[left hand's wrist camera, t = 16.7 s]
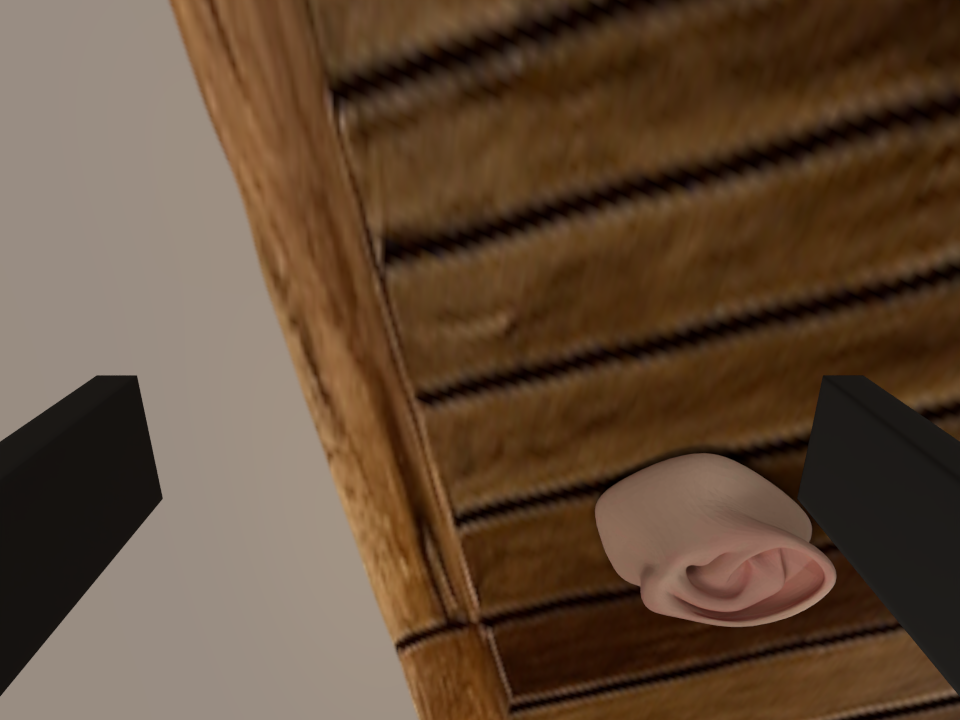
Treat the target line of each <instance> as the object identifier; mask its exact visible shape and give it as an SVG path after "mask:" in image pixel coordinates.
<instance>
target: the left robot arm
mask: <svg viewBox="0 0 960 720" xmlns="http://www.w3.org/2000/svg"><path fill="white" fill-rule="evenodd" d="M162 499H163V498H162V493H161V488H160V484H159V479H158V474H157V469H156V464H155V460H154V455H153V450H152V445H151V440H150V436H149V431H148V426H147V421H146V417H145V412H144V407H143V402H142V398H141V393H140V388H139V383H138V378H137V376H95V377H94V378H93V379H91V380H90V381H88V382H87V383H85V384H84V385H82V386H81V387H79V388H78V389H76V390H75V391H74V392H72V393H71V394H69V395H68V396H66V397H65V398H63V399H62V400H60V401H59V402H58V403H56V404H55V405H53V406H52V407H50V408H49V409H47V410H46V411H44V412H43V413H42V414H40V415H39V416H37V417H36V418H34V419H33V420H31V421H30V422H28V423H27V424H25V425H24V426H23V427H21V428H20V429H18V430H17V431H15V432H14V433H12V434H11V435H9V436H8V437H6V438H5V439H4V440H2V441H1V442H0V696H1V695H2V694H3V692H4V691H5V690H6V689H7V687H8V686H9V685H10V684H11V683H12V681H13V680H14V679H15V678H16V676H17V675H18V674H19V673H20V672H21V670H22V669H23V668H24V667H25V665H26V664H27V663H28V662H29V661H30V659H31V658H32V657H33V656H34V655H35V653H36V652H37V651H38V650H39V648H40V647H41V646H42V645H43V644H44V642H45V641H46V640H47V639H48V638H49V636H50V635H51V634H52V633H53V631H54V630H55V629H56V628H57V627H58V625H59V624H60V623H61V622H62V620H63V619H64V618H65V617H66V616H67V614H68V613H69V612H70V611H71V610H72V608H73V607H74V606H75V605H76V604H77V602H78V601H79V600H80V599H81V597H82V596H83V595H84V594H85V593H86V591H87V590H88V589H89V588H90V586H91V585H92V584H93V583H94V582H95V580H96V579H97V578H98V577H99V576H100V574H101V573H102V572H103V571H104V569H105V568H106V567H107V566H108V565H109V563H110V562H111V561H112V560H113V559H114V557H115V556H116V555H117V554H118V552H119V551H120V550H121V549H122V548H123V546H124V545H125V544H126V543H127V541H128V540H129V539H130V538H131V537H132V535H133V534H134V533H135V532H136V531H137V529H138V528H139V527H140V526H141V524H142V523H143V522H144V521H145V520H146V518H147V517H148V516H149V515H150V513H151V512H152V511H153V510H154V509H155V507H156V506H157V505H158V504H159V503H160V501H161V500H162ZM797 499H798V500H799V501H800V503H801V504H802V505H803V506H804V507H805V509H806V510H807V511H808V512H809V514H810V515H811V516H812V517H813V518H814V520H815V521H816V522H817V523H818V524H819V526H820V527H821V528H822V529H823V531H824V532H825V533H826V534H827V535H828V537H829V538H830V539H831V540H832V541H833V543H834V544H835V545H836V546H837V548H838V549H839V550H840V551H841V552H842V554H843V555H844V556H845V557H846V559H847V560H848V561H849V562H850V563H851V565H852V566H853V567H854V568H855V569H856V571H857V572H858V573H859V574H860V576H861V577H862V578H863V579H864V580H865V582H866V583H867V584H868V585H869V586H870V588H871V589H872V590H873V591H874V593H875V594H876V595H877V596H878V597H879V599H880V600H881V601H882V602H883V604H884V605H885V606H886V607H887V608H888V610H889V611H890V612H891V613H892V614H893V616H894V617H895V618H896V619H897V621H898V622H899V623H900V624H901V625H902V627H903V628H904V629H905V630H906V631H907V633H908V634H909V635H910V636H911V638H912V639H913V640H914V641H915V642H916V644H917V645H918V646H919V647H920V649H921V650H922V651H923V652H924V653H925V655H926V656H927V657H928V658H929V659H930V661H931V662H932V663H933V664H934V666H935V667H936V668H937V669H938V670H939V672H940V673H941V674H942V675H943V676H944V678H945V679H946V680H947V681H948V683H949V684H950V685H951V686H952V687H953V689H954V690H955V691H956V692H957V694H958V695H959V696H960V442H959V441H958V440H956V439H955V438H954V437H952V436H951V435H949V434H948V433H946V432H945V431H943V430H942V429H940V428H939V427H938V426H936V425H935V424H933V423H932V422H930V421H929V420H927V419H926V418H924V417H923V416H921V415H920V414H919V413H917V412H916V411H914V410H913V409H911V408H910V407H908V406H907V405H905V404H904V403H903V402H901V401H900V400H898V399H897V398H895V397H894V396H892V395H891V394H889V393H888V392H886V391H885V390H884V389H882V388H881V387H879V386H878V385H876V384H875V383H873V382H872V381H870V380H869V379H868V378H866V377H865V376H823V378H822V383H821V388H820V393H819V398H818V402H817V407H816V412H815V417H814V421H813V426H812V431H811V436H810V440H809V445H808V450H807V455H806V460H805V464H804V469H803V474H802V479H801V483H800V488H799V493H798V498H797Z"/></svg>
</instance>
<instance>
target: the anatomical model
mask: <svg viewBox="0 0 960 720" xmlns="http://www.w3.org/2000/svg"><path fill="white" fill-rule="evenodd" d="M595 517H596V523H597V527H598V531H599V534H600V537H601V540H602V544H603V547H604V549H605V552H606V554H607V556H608V558H609V560H610V561H611V563H612V565H613V567H614V569H615V570H616V572H617V573H618V574H619V575H620V576H621V577H622V578H623V579H624V580H626V581H628V582H630V583H632V584H635V585H637V586H641V597H642V600H643V602H644V604H645V605H646V607H647V608H648V609H650V610H652V611H653V612H656V613H659V614H663V615H668V616H673V617H678V618H682V619H687V620H692V621H696V622H701V623H706V624H712V625H719V626H729V627H744V626H754V625H760V624H765V623H770V622H774V621H778V620H781V619H784V618H787V617H790V616H793V615H795V614H797V613H799V612H801V611H803V610H805V609H807V608H809V607H810V606H812V605H814V604H815V603H816V602H818V601H819V600H821V599H822V598H823V597H824V596H825V595H826V594H827V593H828V592H829V591H830V590H831V589H832V587H833V586H834V584H835V581H836V571H835V568H834V566H833V564H832V562H831V561H830V560H829V559H828V558H827V556H825V555H824V554H823V553H822V552H821V551H820V550H819V549H817V548H816V547H815V546H813V545H812V544H810V543H809V541H810V539H811V535H812V525H811V522H810V520H809V518H808V516H807V515H806V513H805V512H804V511H803V510H802V509H801V508H800V506H799V505H798V504H797V503H796V502H794V501H793V500H792V499H791V498H790V497H789V496H787V495H786V494H785V493H784V492H783V491H781V490H780V489H779V488H777V487H776V486H775V485H773V484H772V483H771V482H769V481H768V480H766V479H765V478H763V477H762V476H760V475H759V474H757V473H756V472H754V471H752V470H751V469H749V468H747V467H746V466H744V465H742V464H740V463H738V462H736V461H734V460H731V459H729V458H726V457H723V456H720V455H715V454H708V453H697V454H688V455H682V456H678V457H675V458H671V459H667V460H665V461H662V462H659V463H656V464H654V465H651V466H649V467H647V468H645V469H642V470H640V471H638V472H636V473H634V474H632V475H630V476H628V477H626V478H624V479H623V480H621V481H619V482H618V483H616V484H614V485H613V486H611V487H610V488H609V489H607V490H606V491H605V492H604V493H603V494H602V495H601V497H600V498H599V499H598V501H597V504H596V507H595Z"/></svg>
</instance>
